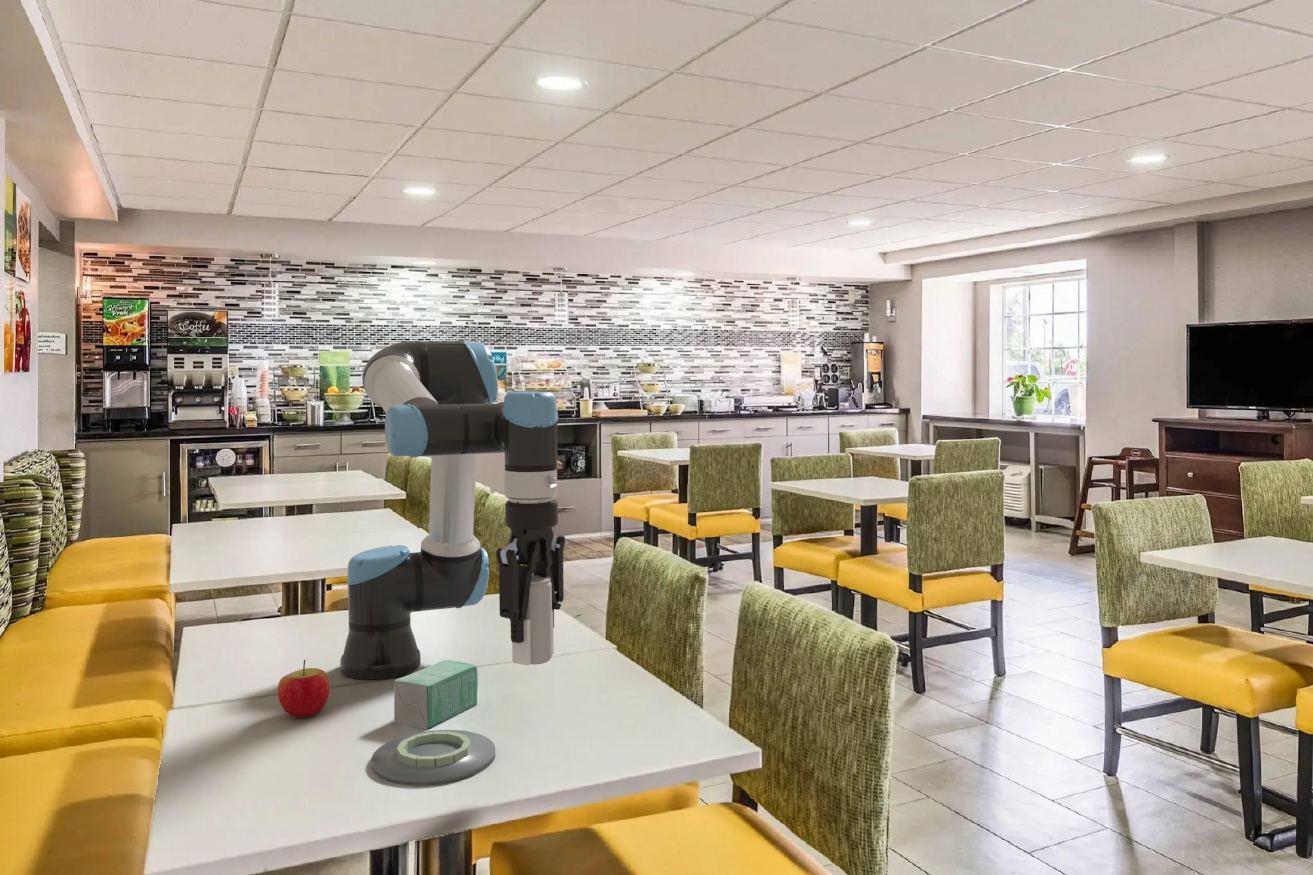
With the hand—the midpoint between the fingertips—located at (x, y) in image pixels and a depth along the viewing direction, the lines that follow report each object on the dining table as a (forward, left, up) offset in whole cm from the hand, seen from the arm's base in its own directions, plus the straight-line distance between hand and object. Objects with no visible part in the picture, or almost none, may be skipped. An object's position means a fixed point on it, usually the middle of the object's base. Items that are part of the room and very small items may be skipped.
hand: (533, 657), depth 138 cm
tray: (-15, -5, -16) cm, 23 cm away
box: (-28, +10, -17) cm, 34 cm away
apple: (-47, -2, -17) cm, 50 cm away
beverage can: (0, 0, -1) cm, 1 cm away
